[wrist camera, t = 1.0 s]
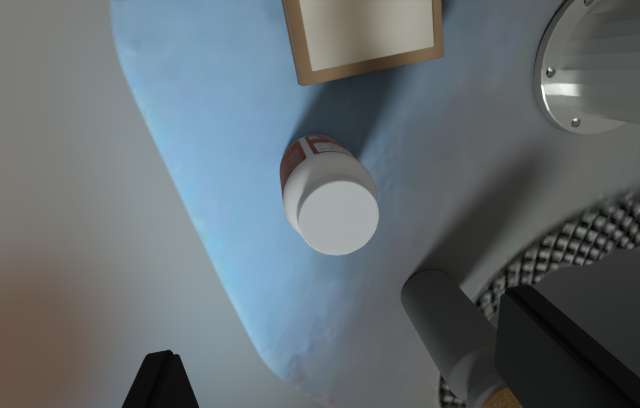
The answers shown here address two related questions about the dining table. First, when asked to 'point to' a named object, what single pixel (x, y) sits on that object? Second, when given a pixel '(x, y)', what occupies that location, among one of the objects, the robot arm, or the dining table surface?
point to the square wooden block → (360, 36)
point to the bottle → (457, 339)
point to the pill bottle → (328, 195)
